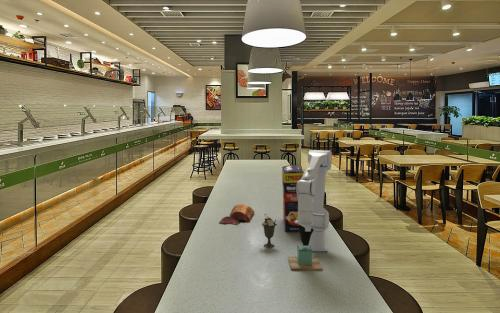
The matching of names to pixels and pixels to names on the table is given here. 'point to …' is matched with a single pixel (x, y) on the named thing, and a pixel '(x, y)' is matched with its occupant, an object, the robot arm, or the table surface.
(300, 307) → the table surface
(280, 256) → the table surface
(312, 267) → the stand
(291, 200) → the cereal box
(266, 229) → the sundae
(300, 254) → the teal block
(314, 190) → the robot arm
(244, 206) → the cured meat
